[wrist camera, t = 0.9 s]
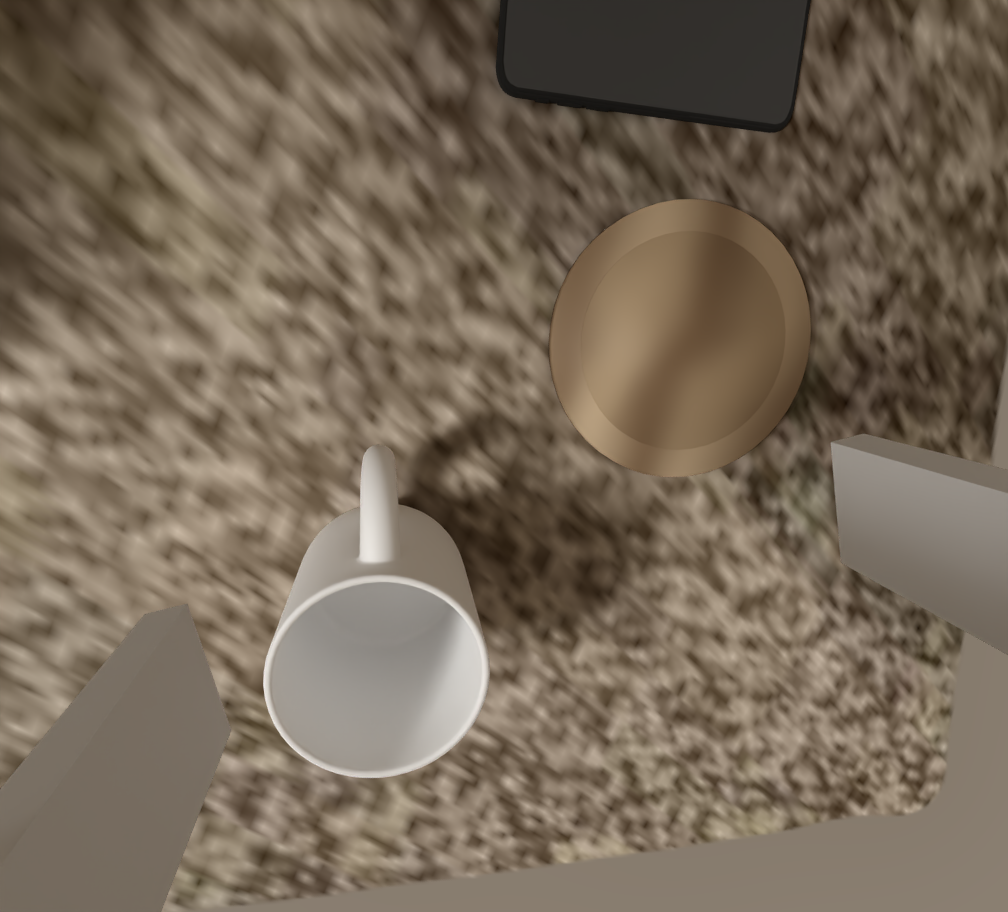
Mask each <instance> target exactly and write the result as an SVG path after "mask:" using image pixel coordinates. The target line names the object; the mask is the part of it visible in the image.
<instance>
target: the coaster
mask: <svg viewBox="0 0 1008 912" xmlns="http://www.w3.org/2000/svg"><path fill="white" fill-rule="evenodd" d="M810 337H811V321H810V309H809V304H808V299H807V294H806V290H805V287H804V284H803V281H802V278H801V275H800V273H799V271H798V269H797V267H796V265H795V263H794V261H793V259H792V258H791V256H790V255H789V253H788V252H787V250H786V249H785V247H784V246H783V244H782V243H781V242H780V241H779V240H778V239H777V238H776V237H775V235H774V234H773V233H772V232H771V231H770V230H768V229H767V228H766V227H765V226H764V225H762V224H761V223H760V222H759V221H757V220H756V219H754V218H753V217H751V216H749V215H748V214H746V213H745V212H742V211H740V210H738V209H735V208H733V207H731V206H728V205H725V204H721V203H717V202H714V201H707V200H698V199H681V200H672V201H666V202H661V203H657V204H654V205H651V206H648V207H645V208H642V209H640V210H637V211H635V212H633V213H631V214H629V215H627V216H625V217H623V218H621V219H620V220H618V221H617V222H615V223H614V224H612V225H611V226H609V227H608V228H606V229H605V230H604V231H603V232H602V233H600V234H599V235H598V236H597V237H596V238H595V239H594V240H593V241H591V243H590V244H589V245H588V246H587V247H586V248H585V250H584V251H583V252H582V253H581V254H580V255H579V257H578V258H577V260H576V261H575V263H574V264H573V266H572V267H571V269H570V270H569V272H568V274H567V276H566V278H565V280H564V282H563V284H562V286H561V288H560V291H559V294H558V297H557V299H556V302H555V305H554V309H553V314H552V319H551V323H550V333H549V362H550V368H551V374H552V380H553V383H554V386H555V389H556V393H557V396H558V398H559V400H560V403H561V405H562V407H563V409H564V411H565V413H566V415H567V416H568V418H569V419H570V421H571V423H572V424H573V426H574V427H575V428H576V429H577V431H578V432H579V433H580V434H581V435H582V437H583V438H584V439H585V440H586V441H587V442H588V443H590V444H591V445H592V446H593V447H594V448H595V449H596V450H597V451H599V452H600V453H602V454H603V455H605V456H606V457H608V458H609V459H611V460H612V461H614V462H616V463H618V464H620V465H622V466H624V467H626V468H628V469H631V470H634V471H637V472H640V473H643V474H648V475H654V476H660V477H683V476H693V475H697V474H701V473H706V472H710V471H712V470H715V469H718V468H720V467H723V466H725V465H727V464H729V463H731V462H733V461H735V460H737V459H739V458H740V457H742V456H743V455H745V454H746V453H747V452H749V451H750V450H752V449H753V448H754V447H755V446H757V445H758V444H759V443H760V442H761V441H762V440H763V439H765V438H766V437H767V436H768V434H769V433H770V432H771V431H772V430H773V429H774V428H775V427H776V426H777V424H778V423H779V422H780V420H781V419H782V417H783V416H784V414H785V413H786V412H787V410H788V408H789V407H790V405H791V403H792V401H793V399H794V398H795V396H796V393H797V391H798V389H799V386H800V384H801V381H802V379H803V375H804V372H805V368H806V365H807V361H808V355H809V348H810Z"/></svg>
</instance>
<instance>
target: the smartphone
mask: <svg viewBox="0 0 1008 912" xmlns="http://www.w3.org/2000/svg"><path fill="white" fill-rule="evenodd" d="M810 1H811V0H501V4H500V18H499V32H498V46H497V60H496V73H497V78H498V82H499V84H500V87H501V88H502V90H503V91H504V92H505V93H507V94H508V95H510V96H512V97H515V98H522V99H529V100H536V101H535V102H540V103H548V102H550V103H557V104H558V105H561V106H568V107H575V108H580V107H586V109H590V110H597V111H604V112H608V111H615V112H622V113H629V114H637V115H644V116H651V117H659V118H666V119H673V120H681V121H688V122H695V123H702V124H710V125H717V126H724V127H732V128H739V129H746V130H754V131H761V132H769V133H771V132H777V131H780V130H781V129H783V128H784V127H785V126H786V125H787V123H788V122H789V120H790V118H791V116H792V113H793V110H794V105H795V99H796V92H797V86H798V79H799V73H800V66H801V60H802V53H803V46H804V40H805V33H806V27H807V20H808V14H809V7H810Z"/></svg>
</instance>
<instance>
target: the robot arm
mask: <svg viewBox="0 0 1008 912" xmlns="http://www.w3.org/2000/svg"><path fill="white" fill-rule="evenodd" d="M831 452H832V464H833V475H834V487H835V498H836V510H837V522H838V533H839V545H840V557H841V563H842V564H844V565H846V566H848V567H850V568H851V569H853V570H855V571H857V572H859V573H860V574H862V575H864V576H866V577H868V578H869V579H871V580H873V581H875V582H877V583H878V584H880V585H882V586H884V587H886V588H887V589H889V590H891V591H893V592H895V593H897V594H898V595H900V596H902V597H904V598H906V599H907V600H909V601H911V602H913V603H915V604H916V605H918V606H920V607H922V608H924V609H925V610H927V611H929V612H931V613H933V614H934V615H936V616H938V617H940V618H942V619H944V620H945V621H947V622H949V623H951V624H953V625H954V626H956V627H958V628H960V629H962V630H963V631H965V632H967V633H969V634H971V635H973V636H975V637H976V638H978V639H980V640H982V641H983V642H985V643H987V644H989V645H991V646H992V647H994V648H996V649H998V650H1000V651H1002V652H1003V653H1005V654H1007V655H1008V470H1006V469H1002V468H998V467H994V466H990V465H986V464H982V463H978V462H974V461H970V460H966V459H962V458H958V457H955V456H951V455H947V454H943V453H939V452H935V451H931V450H927V449H923V448H919V447H915V446H911V445H907V444H903V443H899V442H895V441H891V440H887V439H883V438H879V437H875V436H871V435H867V434H861V435H857V436H853V437H849V438H845V439H841V440H837V441H833V442H831ZM230 732H231V728H230V725H229V722H228V719H227V716H226V713H225V711H224V708H223V705H222V702H221V699H220V696H219V693H218V691H217V688H216V685H215V682H214V679H213V676H212V673H211V670H210V668H209V665H208V662H207V659H206V656H205V653H204V650H203V647H202V645H201V642H200V639H199V636H198V633H197V630H196V627H195V625H194V622H193V619H192V616H191V613H190V610H189V607H188V604H184V605H180V606H176V607H172V608H168V609H164V610H160V611H156V612H152V613H148V614H145V615H144V616H143V617H142V618H141V619H140V621H139V622H138V623H137V624H136V625H135V627H134V628H133V629H132V630H131V632H130V633H129V634H128V635H127V636H126V638H125V639H124V640H123V641H122V642H121V644H120V645H119V646H118V647H117V648H116V650H115V651H114V652H113V653H112V655H111V656H110V657H109V658H108V659H107V661H106V662H105V663H104V664H103V665H102V667H101V668H100V669H99V670H98V671H97V673H96V674H95V675H94V676H93V677H92V679H91V680H90V681H89V682H88V684H87V685H86V686H85V687H84V688H83V690H82V691H81V692H80V693H79V694H78V696H77V697H76V698H75V699H74V700H73V702H72V703H71V704H70V705H69V707H68V708H67V709H66V710H65V711H64V713H63V714H62V715H61V716H60V717H59V719H58V720H57V721H56V722H55V723H54V725H53V726H52V727H51V728H50V730H49V731H48V732H47V733H46V734H45V736H44V737H43V738H42V739H41V740H40V742H39V743H38V744H37V745H36V746H35V748H34V749H33V750H32V751H31V753H30V754H29V755H28V756H27V757H26V759H25V760H24V761H23V762H22V763H21V765H20V766H19V767H18V768H17V769H16V771H15V772H14V773H13V774H12V775H11V777H10V778H9V779H8V780H7V782H6V783H5V784H4V785H3V786H2V788H0V912H161V910H162V908H163V905H164V903H165V900H166V897H167V895H168V892H169V890H170V887H171V885H172V882H173V879H174V877H175V874H176V872H177V869H178V867H179V864H180V861H181V859H182V856H183V854H184V851H185V848H186V846H187V843H188V841H189V838H190V836H191V833H192V830H193V828H194V825H195V823H196V820H197V818H198V815H199V812H200V810H201V807H202V805H203V802H204V799H205V797H206V794H207V792H208V789H209V787H210V784H211V781H212V779H213V776H214V774H215V771H216V768H217V766H218V763H219V761H220V758H221V756H222V753H223V750H224V748H225V745H226V743H227V740H228V738H229V735H230Z"/></svg>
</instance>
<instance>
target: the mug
mask: <svg viewBox="0 0 1008 912" xmlns="http://www.w3.org/2000/svg"><path fill="white" fill-rule="evenodd" d="M489 677H490V663H489V655H488V650H487V646H486V642H485V638H484V635H483V631H482V628H481V624H480V621H479V617H478V613H477V610H476V606H475V603H474V599H473V595H472V592H471V588H470V585H469V581H468V578H467V574H466V570H465V567H464V564H463V561H462V558H461V555H460V552H459V550H458V548H457V546H456V544H455V542H454V541H453V539H452V538H451V536H450V535H449V534H448V532H447V531H446V530H445V529H444V528H443V527H442V526H441V525H440V524H439V523H438V522H436V521H435V520H434V519H433V518H431V517H430V516H428V515H427V514H425V513H423V512H421V511H419V510H416V509H414V508H411V507H408V506H404V505H399V504H398V490H397V475H396V464H395V457H394V453H393V452H392V451H391V449H390V448H388V447H387V446H385V445H380V444H377V445H373V446H371V447H370V448H369V449H367V451H366V453H365V454H364V457H363V462H362V470H361V490H360V507H358V508H355V509H352V510H350V511H348V512H345V513H343V514H342V515H340V516H338V517H337V518H335V519H334V520H332V521H331V522H330V523H329V524H328V525H327V526H325V527H324V528H323V529H322V530H321V531H320V533H319V534H318V535H317V536H316V537H315V539H314V540H313V542H312V543H311V545H310V546H309V548H308V550H307V552H306V554H305V556H304V558H303V560H302V563H301V566H300V568H299V571H298V574H297V576H296V579H295V582H294V584H293V587H292V590H291V592H290V595H289V598H288V600H287V603H286V606H285V608H284V611H283V614H282V616H281V619H280V622H279V624H278V627H277V630H276V632H275V635H274V638H273V640H272V643H271V646H270V649H269V652H268V655H267V657H266V663H265V668H264V682H263V686H264V694H265V700H266V704H267V707H268V711H269V714H270V716H271V718H272V720H273V723H274V725H275V726H276V728H277V730H278V731H279V733H280V734H281V736H282V737H283V738H284V739H285V741H286V742H287V743H288V744H289V745H290V746H291V747H292V748H293V749H294V750H295V751H296V752H297V753H299V754H300V755H301V756H302V757H304V758H305V759H307V760H308V761H310V762H311V763H313V764H315V765H317V766H319V767H321V768H323V769H326V770H329V771H331V772H334V773H337V774H342V775H346V776H351V777H360V778H382V777H389V776H395V775H399V774H403V773H407V772H410V771H413V770H416V769H418V768H421V767H423V766H425V765H427V764H429V763H431V762H433V761H435V760H436V759H438V758H439V757H441V756H442V755H444V754H445V753H447V752H448V751H449V750H450V749H451V748H453V747H454V746H455V745H456V744H457V743H458V742H459V741H460V740H461V739H462V738H463V737H464V736H465V735H466V733H467V732H468V731H469V729H470V728H471V726H472V725H473V724H474V722H475V720H476V718H477V717H478V715H479V713H480V711H481V708H482V706H483V703H484V701H485V698H486V694H487V690H488V686H489Z"/></svg>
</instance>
